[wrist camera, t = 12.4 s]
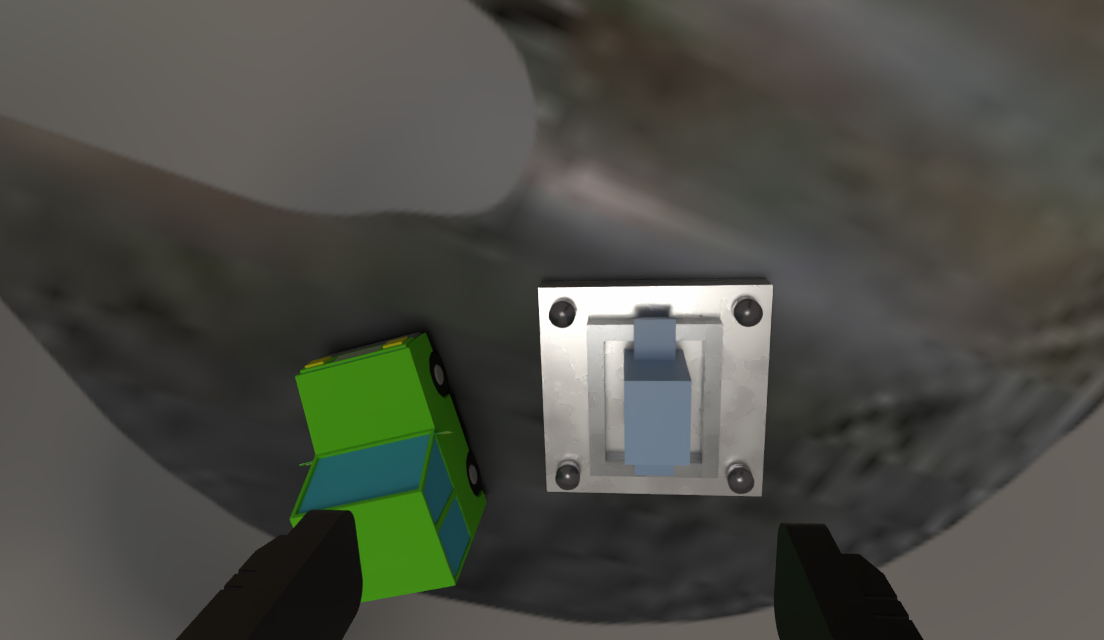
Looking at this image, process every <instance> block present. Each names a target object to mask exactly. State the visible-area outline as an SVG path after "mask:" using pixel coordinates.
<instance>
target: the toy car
mask: <svg viewBox="0 0 1104 640" xmlns="http://www.w3.org/2000/svg"><path fill="white" fill-rule="evenodd" d="M431 352H433V350H432V347H431V345H430V342H429V340H428V337H427V335H426V333H423V334H421V333H420V332H417V333H413V334H409V335H405V336H401V337H397V338H393V339H389V340H385V341H382V342H378V343H374V344H370V345H366V346H362V347H358V348H354V349H350V350H346V351H342V352H338V353H335V354H331V355H327V356H323V357H320V358H318V359H317V360H313V361H311V362H310V363H308V364H307V365H306V366H305V368H303V369H302V370H300V373H299V374H298V375H296V376H295V378H296V382H297V385H298V389H299V393H300V397H301V401H302V404H303V408H304V412H305V416H306V420H307V423H308V427H309V431H310V435H311V439H312V443H313V446H314V450H315V454H316V455H315V458H314V460H313V461H311V462H307V463H304V464H300V466H307V465H311V464H312V465H311V467H310V470H309V472H308V475H307V477H306V480H305V482H304V485H303V487H302V490H301V492H300V495H299V497H298V500H297V502H296V504H295V507H294V509H293V512H292V514H291V517H290V521H291V523H292V526H293V528H294V527H295V526H296V524H297V523H298V522H299V521H300V520H301V519H302V517H303V516H304V515H305V514H306V513H307V512H308V511H309V510H312V509H323V510H349V511H351V512H352V514H353V516H354V519H355V524H356V531H357V539H358V547H359V554H360V562H361V569H362V577H363V591H362V598H361V602H365V601H371V600H376V599H382V598H388V597H393V596H399V595H404V594H410V593H415V592H421V591H426V590H432V589H437V588H443V587H448V586H454V585H456V583H457V580H458V577H459V575H460V572H461V569H462V567H463V564H464V561H465V559H466V556H467V553H468V551H469V548H470V546H471V543H472V540H473V538H474V535H475V532H476V530H477V527H478V524H479V522H480V519H481V516H482V514H483V511H484V508H485V506H486V503H487V502H486V499H485V496H484V493H483V491H480V487H481V480H480V472H479V468H478V465H477V462H476V459H475V457H474V455H472V454H471V453H470V452H469V449H468V446H467V443H466V440H465V437H464V434H463V431H462V428H461V425H460V422H459V419H458V416H457V414H456V411H455V408H454V405H453V402H452V399H451V397H450V394H446V393H447V390H448V379H447V374H446V371H445V368H444V365H443V362H442V360H441V358H440V357H439V356H438V355H437V354H436V353H432V354H431Z"/></svg>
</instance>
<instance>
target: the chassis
mask: <svg viewBox="0 0 1104 640" xmlns="http://www.w3.org/2000/svg"><path fill="white" fill-rule="evenodd" d="M772 292H773V284H771V283H770V282H769V281H768V280H767V279H766V278H732V279H663V280H594V281H542V282H541V284H540V286H539V287H538V294H539V317H540V340H541V363H542V386H543V409H544V432H545V455H546V478H547V491H548V492H593V493H638V494H683V495H728V496H762V478H763V460H764V441H765V422H766V404H767V385H768V367H769V348H770V329H771V311H772ZM634 317H675V318H676V349H683V353H684V356H685V359H686V363H687V366H688V370H689V373H690V377H691V380H692V390H691V437H690V466H675V465H674V476H659V475H635V474H634V465H625V446H624V350H634Z"/></svg>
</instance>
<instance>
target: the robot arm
mask: <svg viewBox="0 0 1104 640" xmlns="http://www.w3.org/2000/svg"><path fill="white" fill-rule="evenodd" d="M362 591H363V577H362V569H361V562H360V554H359V547H358V539H357V531H356V524H355V519H354V516H353V514H352V512H351V511H349V510H323V509H312V510H309V511H308V512H307V513H306V514H305V515H304V516H303V517H302V519H301V520H300V521H299V522H298V523H297V524H296V526H295V527H294V528H293V529H292V530H291V531H290V533H289V534H288V535H280V536H278V537H277V538H275V539H273V540H272V541H270V542H269V543H267V544H266V545H264V546H263V547H261V548H259V549H258V550H257V551H255V552H254V553H253V554H252V556H251V557H250V558H249V559H248V560H247V561H246V562H245V563H244V565H243V566H242V567H241V568H240V569H239V572H238V574H234V576H233V577H232V578H231V579H230V580H229V581H228V582H227V583H226V584H225V586H224V590H220V591H219V592H218V594H216V596H215V597H214V598H213V599H212V600H211V601H210V602H209V603H208V605H207V606H206V607H205V608H204V609H203V610H202V611H201V612H200V613H199V615H198V616H197V617H196V618H195V619H194V620H193V621H192V622H191V623H190V625H189V626H188V627H187V628H186V629H185V630H184V631H183V632H182V633H181V635H180V636H179V637H178V638H177V639H176V640H342V639H343V637H344V635H345V633H346V632H347V630H348V628H349V626H350V624H351V623H352V621H353V619H354V618H355V616H356V614H357V611H358V609H359V606H360V602H361V598H362ZM774 612H775V620H776V627H777V631H778V635H779V639H780V640H923V638H922V637H921V635H920V633H919V632H918V630H917V628H916V627H915V625H914V623H913V622H912V620H909V615H908V613H907V612H906V610H905V609H904V607H903V605H902V604H901V602H900V601H898V600H897V595H896V594H895V592H894V590H893V589H892V587H891V585H890V584H889V582H888V580H887V579H886V577H885V575H884V574H883V573H882V572H881V571H879V570H878V569H877V568H876V567H875V566H873V565H872V564H871V563H870V562H868V561H867V560H866V559H865V558H863V557H862V556H861V555H860V554H841V552H840V550H839V548H838V546H837V545H836V543H835V541H834V539H833V537H832V535H831V533H830V531H829V529H828V528H827V526H826V525H825V524H810V523H781V524H780V526H779V530H778V539H777V556H776V572H775V588H774Z"/></svg>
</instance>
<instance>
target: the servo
mask: <svg viewBox="0 0 1104 640" xmlns="http://www.w3.org/2000/svg"><path fill="white" fill-rule="evenodd" d="M691 390H692V380H691V377H690V373H689V370H688V366H687V363H686V359H685V356H684V353H683V349H676V318H675V317H634V350H624V446H625V465H634V474H635V475H659V476H674V465H675V466H690V437H691Z"/></svg>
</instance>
